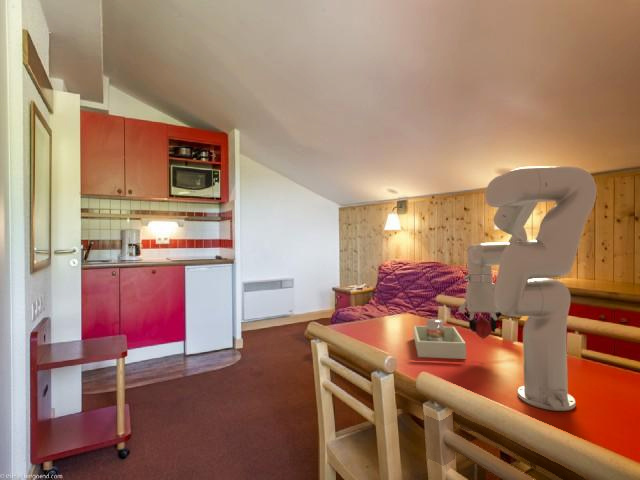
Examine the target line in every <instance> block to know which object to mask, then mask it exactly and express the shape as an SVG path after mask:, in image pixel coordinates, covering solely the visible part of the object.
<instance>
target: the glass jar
mask: <svg viewBox="0 0 640 480" xmlns="http://www.w3.org/2000/svg"><path fill="white" fill-rule="evenodd" d="M444 322H445V321H444V320H443V319H440V318H427V319H426V326H427V341H434V342H444V327H445V325H444Z"/></svg>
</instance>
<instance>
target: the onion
mask: <svg viewBox="0 0 640 480" xmlns="http://www.w3.org/2000/svg"><path fill="white" fill-rule="evenodd" d="M474 333H475V334H476V336H478V337H479V338H480V339H482V340H485V339H486V338H487V337H489V336H490V335H491V333H492V326H491V324H490V320H487V319H486V318H485V317H484V315H480V317H479V318H478V319H477V320H475V332H474Z"/></svg>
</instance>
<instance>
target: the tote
mask: <svg viewBox="0 0 640 480" xmlns="http://www.w3.org/2000/svg"><path fill="white" fill-rule="evenodd" d="M413 340H414V344H415V349H416V353H417V357H418V358H432V359H433V358H435V359H436V358H437V359H438V358H439V359H455V360H457V359H461V360H467V345H466V344H467V343H466V342H465V340H464V339H463V337H462V336H461V335H460V332H458V330H457V329H456V327H455V326H444V342H434V341H427V325H413Z"/></svg>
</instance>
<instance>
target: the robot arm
mask: <svg viewBox="0 0 640 480" xmlns="http://www.w3.org/2000/svg"><path fill="white" fill-rule="evenodd" d="M484 194H485V195H484V198H485V202H486V203H487V205H489V207H491V208H497V210H496V212H495V214H494V215H493V218H492V219H493V224H494V225H495V227H497V229H499V230H500V231H502V232H504V233H506V234H508V235H510V238H509V239H508V241H507V242H484V243H483V242H482V243H477V244H469V245H468V246H467V250H466V252H467V254H466V256H467V271H468V272H467V273H468V274H467V275H465V276H463V278H464V279H463V280H464V281H468V282H467V283H466V288H465V301H463V303H462V304H461V305H460V306H459V307H458V311H459V312H460V313H462V314H463V315H464V316H465V317H466V318H467V319H468V327H469V330H471V332H474V333H475V322H476V320H475V318H474V317H475V314H476V313H477V314H478V313H481V314H482V313H489V316H490V319H489V322H490V324H491V326H492V332H493V333H496V330H497V321H498V319H499V317H501V316H502V315H504V316H506V317H527V318H526V320H525V323H524V325H523V329H522V351H523V354H522V357H523V360H522V361H523V385H521V386H520V387H519V388H518V389H517V397H518V398H520V400H522V401H523V402H524V403H527V404H528V405H530V406H533V407H536V408H540V409H543V410H547V411H555V412H557V411H558V412H567V411H571V410H573V409H574V408H575V407H576V405H577V404H576V399H575V398H574V397H573V396H572V395H571V394H569V392H568V391H569V390H568V389H569V388H568V353H567V352H568V350H567V348H568V347H567V341H568V340H567V338H568V337H567V326H568V325H567V322H568V316H569V312H570V307H571V292H570V290H569V288H568V287H567V285H566V284H565V283H563V282H562V281H560V280H558V279H555V278H562V277H565V276H568V274H569V273H570V272H571V270H572V269H573V265H574V263H575V259H576V255H577V252H578V249H579V247H580V246H579V245H580V242H581V238H582V234H583V231H584V229H585V225H586V223H587V220H588V218H589V217H590V214H591V212H592V210H593V208H594V205H595V203H596V198H597V183H596V181H595V179H594V177H593V175H592V174H591V173H590V172H589V171H588V170H585V169H583V168H580V167H577V166H576V167H575V166H566V165H565V166H564V165H563V166H562V165H557V166H555V165H554V166H553V165H552V166H525V167H524V166H522V167H517V168H515V169H512V170H510V171H508V172H505V173H502V174H499V175H497V176H496V177H494V178H493V179H492V180H491V181H490V182H489V183H488V185H487V187H486V189H485V192H484ZM539 202H540V203H545V202H546V203H548V202H555V205H554V206H553V207H551V208H550V209H549V210H548V211H547V213H546V214H545V215H544V217H543V218H542V219H541V221H540V225H539V229H538V230H539V231H538V233H537V236H536V238H534V239H528V235H527V231H526V229H525V227H524V226H525V225H526V223H527V221H529V219H530V217H531V215H532V214H533V212H534V210H535V209H536V207H537V206H538V203H539ZM492 266H498V270H497V276H496V282H495V283H494V282H493V271H492V270H493V268H492ZM465 309H466V310H467V311H469V312H467V311H466V310H465ZM492 332H491V333H492Z"/></svg>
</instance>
